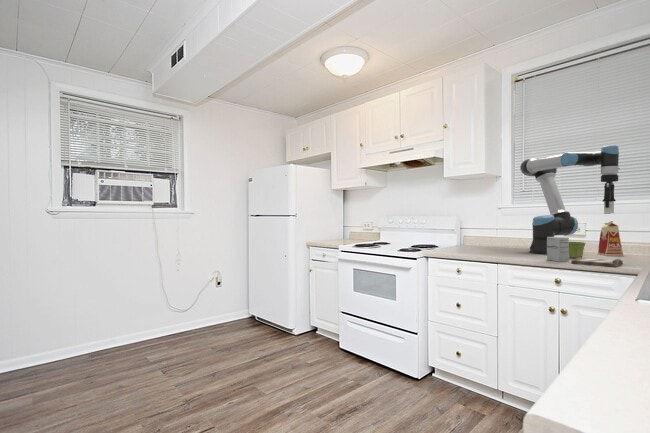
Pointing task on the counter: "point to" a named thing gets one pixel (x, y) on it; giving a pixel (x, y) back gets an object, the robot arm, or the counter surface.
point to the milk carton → (610, 240)
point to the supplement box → (558, 249)
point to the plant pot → (576, 249)
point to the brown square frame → (597, 262)
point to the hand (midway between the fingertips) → (609, 213)
